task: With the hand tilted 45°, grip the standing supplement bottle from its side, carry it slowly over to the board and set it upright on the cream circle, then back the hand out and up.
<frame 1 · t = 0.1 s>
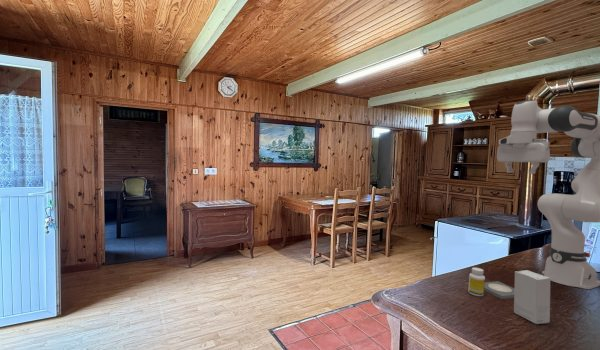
hand: (520, 173, 125), 48 cm above the table, tool pointing down, fingers open, 8 cm apart
target board: (499, 291, 122), on the table
supplement bottle: (475, 294, 119), on the table
skincare box: (530, 318, 101), on the table
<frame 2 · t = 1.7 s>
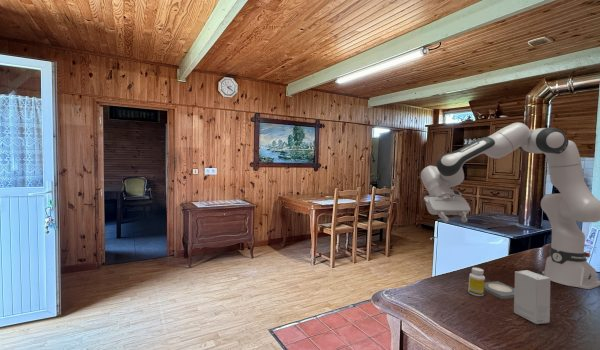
hand: (456, 221, 129), 26 cm above the table, tool tilted 45°, fingers open, 8 cm apart
nothing on the table moved.
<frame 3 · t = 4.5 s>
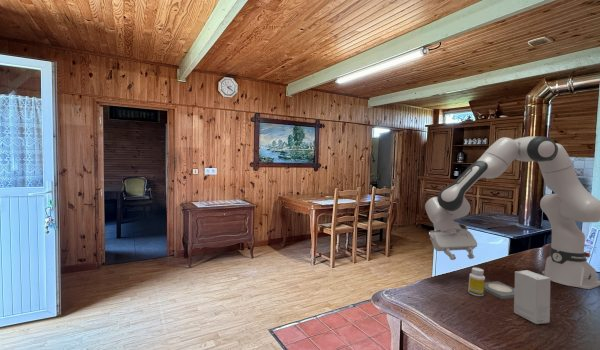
hand: (462, 258, 125), 12 cm above the table, tool tilted 45°, fingers open, 8 cm apart
nothing on the table moved.
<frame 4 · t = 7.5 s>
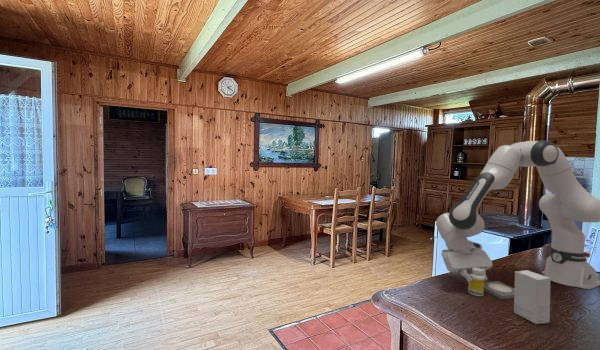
hand: (478, 280, 118), 5 cm above the table, tool tilted 45°, fingers closed on supplement bottle, 5 cm apart
supplement bottle: (475, 294, 119), on the table, touching gripper
everything else where it was.
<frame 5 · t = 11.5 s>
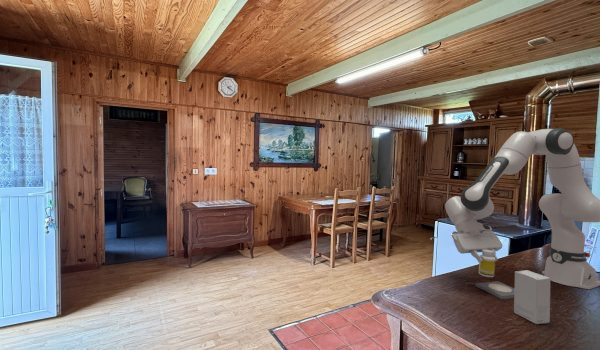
hand: (488, 261, 119), 13 cm above the table, tool tilted 45°, fingers closed on supplement bottle, 5 cm apart
supplement bottle: (486, 275, 120), point 7 cm above the table, touching gripper
everything else where it was.
when the fingers open (8 cm above the table, at t = 15.6 s): supplement bottle stays where it is, resting on target board.
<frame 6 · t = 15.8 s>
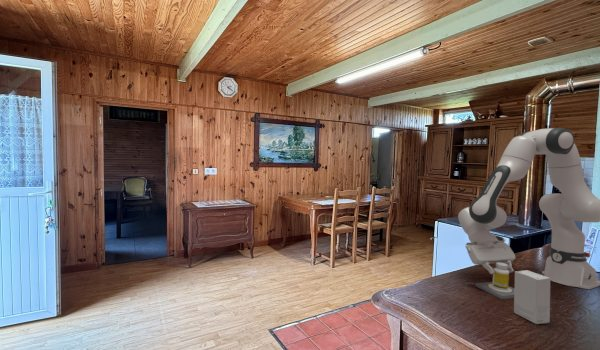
hand: (502, 272, 121), 8 cm above the table, tool tilted 45°, fingers open, 8 cm apart
supplement bottle: (500, 288, 122), point 1 cm above the table, touching target board
everything else where it was.
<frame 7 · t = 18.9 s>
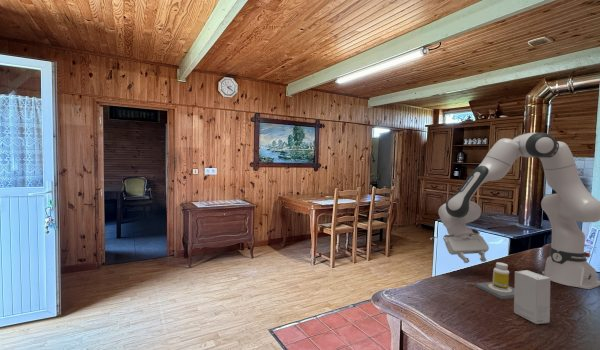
hand: (475, 261, 133), 8 cm above the table, tool tilted 45°, fingers open, 8 cm apart
nothing on the table moved.
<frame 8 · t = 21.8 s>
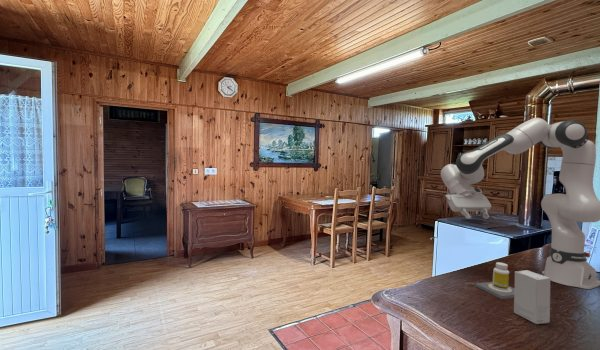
hand: (478, 218, 133), 27 cm above the table, tool tilted 45°, fingers open, 8 cm apart
nothing on the table moved.
at the end: supplement bottle inside the target area on the target board (0.1 cm from its centre), point 1.2 cm above the target board's base; supplement bottle tilted 0°; the gripper is holding nothing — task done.
